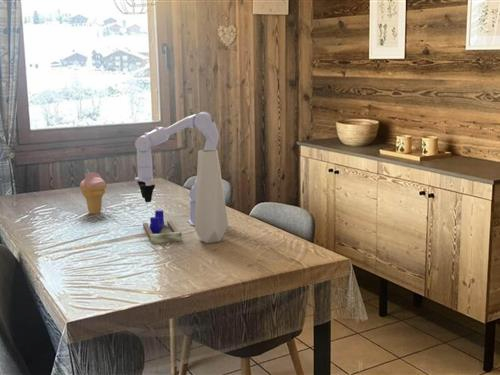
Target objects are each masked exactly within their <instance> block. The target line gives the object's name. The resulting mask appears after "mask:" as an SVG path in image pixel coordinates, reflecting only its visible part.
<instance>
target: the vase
mask: <svg viewBox="0 0 500 375" xmlns="http://www.w3.org/2000/svg"><path fill="white" fill-rule="evenodd" d="M196 169H197V171H196V172H197V173H196V177H197V190H196V213H195V225H194V230H195V232H196V234H197V237H198V238H199V241H201V242H203V243H206V244H211V243H219V242H221V241H222V238H223V237H224V234H225V232H226V231H227V229H228V227H229V221H228V213H227V207H226V200H225V193H224V186H223V185H224V184H223V180H222V174H221V173H222V172H221V171H222V170H221V165H220V159H219V151H218V149H217V148H216V149H204V148H203V149H200V150H198V152H197V168H196Z"/></svg>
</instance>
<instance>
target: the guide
mask: <svg viewBox="0 0 500 375" xmlns="http://www.w3.org/2000/svg"><path fill="white" fill-rule="evenodd" d="M166 225H167V227H168V228H169V230H170V232H162V233H152V231H151V229H150V225H149V224H148V222H142V228H143V230H144V232H145V234H146V236H147V238H148V239H149V241H150V244H162V243H171V242H172V243H174V242H180V241H182V240H183V239H182V238H183V236H182V232H181V231H179V230H178V228H177V227H176V226H175V224H174V223H173V221H172V220H170V219H169V220H166Z"/></svg>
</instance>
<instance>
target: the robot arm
mask: <svg viewBox="0 0 500 375" xmlns="http://www.w3.org/2000/svg"><path fill="white" fill-rule="evenodd" d="M187 128H190V129H195V128H196V129H197V130H198V131H199V132H202V134H203V136H204V137H205V139H206V140H205V143H204V148H203V150H204V149H216V150H217V147H218V142H219V138H220V134H219V131H218V127H217V124H216V121H215V118H214V117H213V116H212V115H211V113H209V112H208V111H201V112H198V113H195V114H192V115H188V116H186V117H184V118H183V119H181V120H178V121H177V122H175V123H173V124H172V125H169V126H168V127H163V126H160V127H159V126H155V128H154V129H153V130H152V131H150V132H145V133H144V135H140V136H139V137H138V138H137V139H135V142H134V146H135V148H136V158H137V159H136V160H137V163H136V164H137V177H134V180H135V181H136V182H137V185H138V186H139V189H140V194H141V196H142V199H144V201H145V203H151V202H152V198H153V193H154V189H155V187H156V184H152V181H153V180H154V176H153V173H154V172H153V158H152V157H153V156H152V147H154V148H155V147H156V146H158V145H160V144H162V143H164V142H167V141H168V140H169V138H170V136H171V135H173V134H175V133H177V132H180V131H182V130H184V129H187ZM196 190H197V176H196V178H195V181H194V184H193V185H192V186H191V189H190V190H189V193H188V195H189V198H190V199H189V218H190V219H187V221H188V222H189V224H190V225H191V226H195V213H196Z"/></svg>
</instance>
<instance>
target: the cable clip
mask: <svg viewBox="0 0 500 375" xmlns="http://www.w3.org/2000/svg"><path fill="white" fill-rule="evenodd" d="M154 213H155V214H154V216H153V217H150V218H149V219H150V220H149V221H150V225H149V227H150V229H151V231H152V233H153V234H160V232H161V231H162V228H163V227H164V225H165V221H164V220H165V217H164V216H165V214H164V209H163V210H162V209H161V210H160V209H159V210H157V209H156V210H155V211H154Z"/></svg>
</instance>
